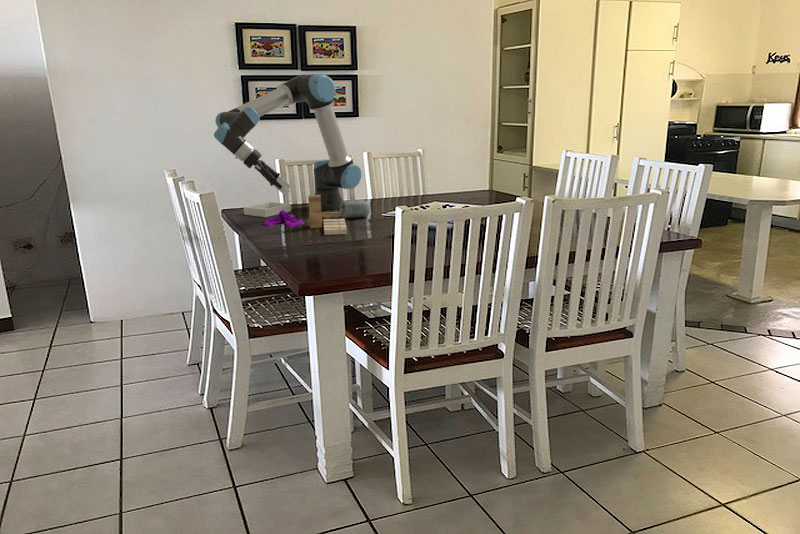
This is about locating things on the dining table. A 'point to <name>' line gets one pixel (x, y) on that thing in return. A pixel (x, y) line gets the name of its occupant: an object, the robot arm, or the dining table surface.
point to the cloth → (283, 220)
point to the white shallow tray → (266, 209)
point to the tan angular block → (318, 211)
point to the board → (334, 226)
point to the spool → (354, 209)
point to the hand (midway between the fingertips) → (288, 191)
